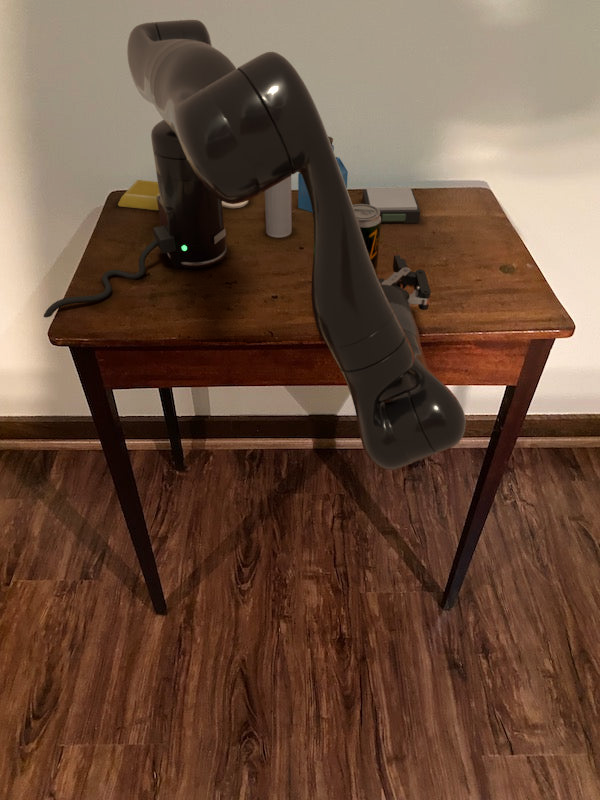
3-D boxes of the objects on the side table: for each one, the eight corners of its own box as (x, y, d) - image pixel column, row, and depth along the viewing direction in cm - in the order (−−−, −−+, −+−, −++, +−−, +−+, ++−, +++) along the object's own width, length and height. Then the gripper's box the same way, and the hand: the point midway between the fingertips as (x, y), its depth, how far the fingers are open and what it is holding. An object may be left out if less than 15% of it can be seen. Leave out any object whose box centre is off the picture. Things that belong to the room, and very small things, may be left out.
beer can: (335, 293, 98) (338, 217, 90) (344, 275, 102) (347, 201, 94) (371, 299, 97) (377, 222, 89) (378, 280, 101) (385, 205, 93)
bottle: (297, 231, 113) (296, 109, 99) (278, 240, 110) (275, 116, 97) (279, 223, 115) (276, 102, 102) (260, 232, 113) (255, 109, 99)
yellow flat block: (114, 195, 119) (116, 206, 120) (160, 200, 117) (162, 211, 119) (133, 175, 125) (135, 186, 126) (177, 180, 124) (178, 190, 125)
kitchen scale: (367, 224, 115) (368, 209, 113) (362, 201, 122) (363, 186, 120) (419, 224, 115) (421, 209, 113) (411, 200, 122) (412, 186, 120)
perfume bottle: (326, 217, 117) (328, 148, 109) (298, 207, 120) (298, 140, 112) (346, 204, 121) (349, 137, 113) (318, 196, 123) (319, 130, 116)
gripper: (447, 301, 77) (419, 235, 89) (325, 306, 76) (313, 238, 88) (438, 353, 82) (413, 283, 94) (324, 358, 81) (312, 287, 93)
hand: (364, 262), depth 91 cm, fingers open, 8 cm apart
